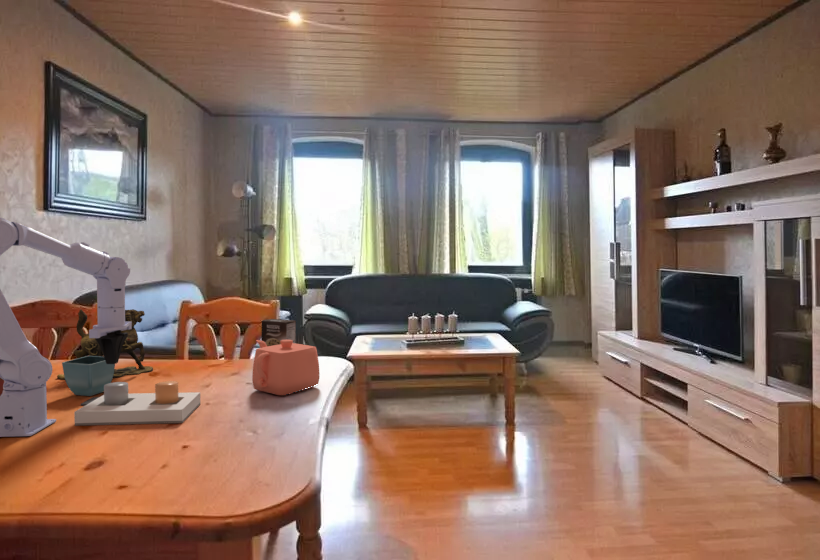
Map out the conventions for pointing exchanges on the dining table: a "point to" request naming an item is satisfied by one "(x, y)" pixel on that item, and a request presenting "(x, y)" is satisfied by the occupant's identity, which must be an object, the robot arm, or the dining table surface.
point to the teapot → (285, 367)
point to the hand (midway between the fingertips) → (112, 363)
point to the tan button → (166, 392)
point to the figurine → (130, 344)
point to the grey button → (115, 393)
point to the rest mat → (89, 401)
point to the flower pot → (87, 375)
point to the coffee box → (278, 331)
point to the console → (138, 410)
